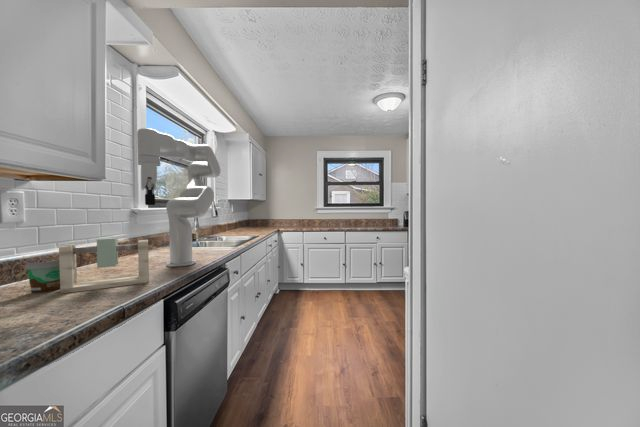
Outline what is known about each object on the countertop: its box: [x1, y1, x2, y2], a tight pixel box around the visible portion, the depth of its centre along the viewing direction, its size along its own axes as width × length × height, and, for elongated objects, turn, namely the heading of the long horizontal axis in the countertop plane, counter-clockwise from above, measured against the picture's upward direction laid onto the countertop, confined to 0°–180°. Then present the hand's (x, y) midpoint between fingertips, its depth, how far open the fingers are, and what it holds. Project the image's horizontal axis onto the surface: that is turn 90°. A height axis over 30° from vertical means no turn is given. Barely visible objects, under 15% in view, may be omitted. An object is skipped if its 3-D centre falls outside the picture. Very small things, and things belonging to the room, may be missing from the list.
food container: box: [24, 259, 60, 294], centre depth 93 cm, size 12×6×10 cm, turn 168°
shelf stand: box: [58, 239, 150, 295], centre depth 96 cm, size 6×24×15 cm, turn 121°
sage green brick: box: [96, 237, 119, 269], centre depth 96 cm, size 7×5×10 cm
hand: (150, 204), depth 109 cm, fingers open, 9 cm apart
